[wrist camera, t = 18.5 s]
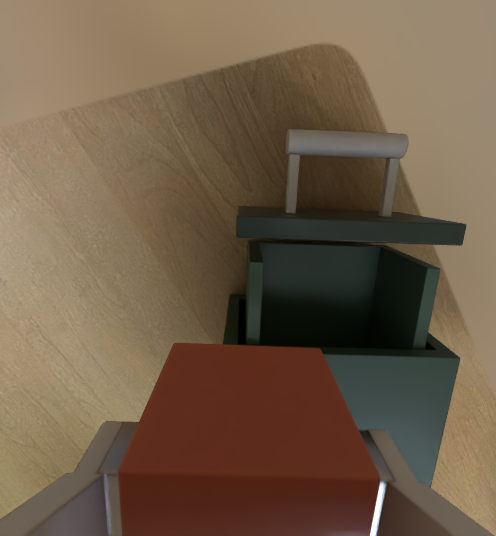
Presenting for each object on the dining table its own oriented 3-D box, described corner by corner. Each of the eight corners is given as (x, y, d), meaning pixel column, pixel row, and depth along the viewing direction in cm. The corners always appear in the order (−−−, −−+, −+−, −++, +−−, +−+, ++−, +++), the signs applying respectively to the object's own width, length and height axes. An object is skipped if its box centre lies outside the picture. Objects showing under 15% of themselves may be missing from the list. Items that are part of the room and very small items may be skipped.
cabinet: (229, 294, 28) (221, 351, 18) (387, 299, 28) (461, 357, 18) (225, 445, 32) (217, 556, 22) (363, 448, 32) (414, 559, 22)
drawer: (241, 138, 24) (239, 116, 16) (409, 145, 24) (487, 127, 16) (233, 372, 28) (230, 441, 21) (373, 376, 29) (420, 445, 21)
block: (173, 341, 10) (115, 470, 5) (321, 346, 10) (383, 478, 5) (174, 462, 11) (128, 650, 6) (307, 466, 11) (349, 653, 7)
